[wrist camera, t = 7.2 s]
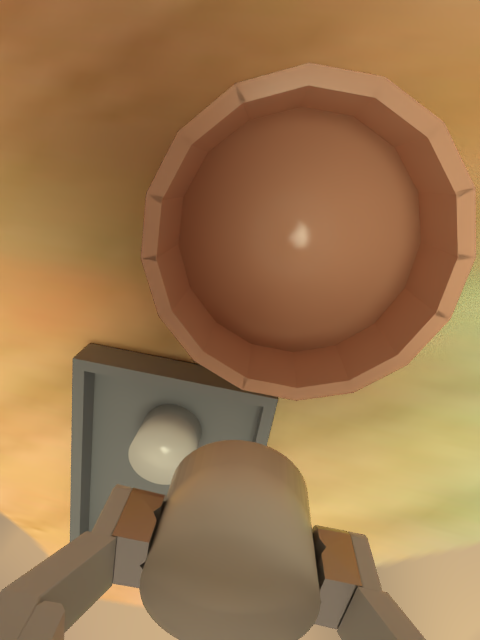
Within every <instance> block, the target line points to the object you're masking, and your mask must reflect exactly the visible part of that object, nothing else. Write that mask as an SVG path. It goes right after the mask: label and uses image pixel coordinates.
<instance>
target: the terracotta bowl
mask: <svg viewBox="0 0 480 640" xmlns="http://www.w3.org/2000/svg"><path fill="white" fill-rule="evenodd" d="M475 258H476V200H475V186H474V184H473V181H472V179H471V177H470V175H469V173H468V171H467V169H466V167H465V165H464V163H463V161H462V158H461V156H460V154H459V152H458V150H457V148H456V146H455V144H454V142H453V140H452V137H451V135H450V133H449V131H448V129H447V127H446V125H445V123H444V122H443V121H442V120H441V119H439V118H438V117H437V116H435V115H434V114H433V113H432V112H430V111H429V110H428V109H426V108H425V107H424V106H422V105H421V104H420V103H419V102H417V101H416V100H415V99H413V98H412V97H411V96H410V95H408V94H407V93H406V92H404V91H403V90H402V89H400V88H399V87H398V86H397V85H395V84H394V83H393V82H391V81H390V80H389V79H387V78H386V77H384V76H379V75H373V74H368V73H363V72H357V71H352V70H346V69H341V68H336V67H330V66H325V65H320V64H314V63H306V64H303V65H299V66H296V67H292V68H288V69H285V70H281V71H278V72H274V73H270V74H267V75H263V76H260V77H256V78H252V79H249V80H245V81H241V82H238V83H235V84H234V85H233V86H231V87H230V88H229V89H228V90H227V91H225V92H224V93H223V94H222V95H221V96H219V97H218V98H217V99H216V100H215V101H213V102H212V103H211V104H210V105H209V106H207V107H206V108H205V109H204V110H203V111H201V112H200V113H199V114H198V115H197V116H195V117H194V118H193V119H192V120H191V121H189V122H188V123H187V124H186V125H185V126H183V127H182V128H181V129H180V130H179V131H178V132H177V134H176V136H175V138H174V140H173V142H172V144H171V146H170V148H169V150H168V152H167V154H166V155H165V157H164V159H163V161H162V163H161V165H160V167H159V169H158V171H157V173H156V175H155V177H154V179H153V181H152V183H151V185H150V187H149V189H148V191H147V193H146V200H145V212H144V225H143V237H142V249H141V261H142V264H143V267H144V271H145V274H146V277H147V280H148V284H149V287H150V290H151V293H152V297H153V300H154V303H155V306H156V310H157V313H158V316H159V317H160V319H161V320H162V321H163V322H164V324H165V325H166V326H167V327H168V329H169V330H170V331H171V332H172V334H173V335H174V336H175V338H176V339H177V340H178V341H179V343H180V344H181V345H182V346H183V348H184V349H185V350H186V351H187V353H188V354H189V355H190V356H191V358H192V359H193V360H194V361H195V362H197V363H198V364H200V365H202V366H203V367H205V368H207V369H208V370H210V371H212V372H213V373H215V374H217V375H218V376H220V377H222V378H223V379H225V380H226V381H228V382H230V383H231V384H233V385H235V386H236V387H238V388H240V389H241V390H246V391H251V392H256V393H261V394H266V395H271V396H276V397H281V398H286V399H291V400H296V401H297V400H304V399H311V398H319V397H326V396H333V395H340V394H347V393H354V392H356V391H358V390H360V389H361V388H363V387H365V386H367V385H369V384H371V383H373V382H375V381H377V380H379V379H381V378H383V377H385V376H387V375H389V374H391V373H393V372H395V371H397V370H399V369H400V368H402V367H404V366H406V365H408V364H409V363H410V362H411V360H412V359H413V358H414V357H415V356H416V355H417V354H418V353H419V352H420V351H421V350H422V349H423V348H424V347H425V346H426V344H427V343H428V342H429V341H430V340H431V339H432V338H433V337H434V336H435V335H436V334H437V333H438V332H439V331H440V330H441V328H442V327H443V326H444V325H445V324H446V323H447V322H448V321H449V320H450V319H451V317H452V314H453V312H454V309H455V307H456V304H457V302H458V300H459V297H460V295H461V292H462V290H463V287H464V285H465V283H466V280H467V278H468V275H469V273H470V270H471V268H472V265H473V263H474V261H475Z"/></svg>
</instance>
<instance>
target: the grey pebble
mask: <svg viewBox="0 0 480 640" xmlns="http://www.w3.org/2000/svg"><path fill="white" fill-rule="evenodd" d="M201 434H202V430H201V425H200V423H199V421H198V419H197V418H196V416H195V415H194V414H193V413H191V412H190V411H189V410H187V409H185V408H183V407H181V406H178V405H172V404H166V405H160V406H158V407H155V408H154V409H152V410H151V411H150V412H149V413H148V414H147V416H146V417H145V419H144V421H143V423H142V425H141V427H140V428H139V430H138V432H137V434H136V436H135V438H134V439H133V441H132V443H131V445H130V447H129V452H128V457H129V461H130V464H131V466H132V467H133V469H134V470H135V471H136V473H137V474H138V475H140V476H141V477H142V478H144V479H146V480H148V481H150V482H152V483H156V484H161V485H170V483H171V480H172V477H173V475H174V472H175V470H176V468H177V467H178V465H179V464H180V462H181V461H182V460H183V459H184V458H185V457H186V456H187V455H189V454H190V453H191V452H193V451H194V450H196V449H198V446H199V442H200V439H201Z"/></svg>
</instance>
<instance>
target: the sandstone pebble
mask: <svg viewBox="0 0 480 640" xmlns="http://www.w3.org/2000/svg"><path fill="white" fill-rule="evenodd" d="M139 589H140V595H141V599H142V602H143V605H144V606H145V608H146V610H147V612H148V613H149V615H150V616H151V617H152V619H153V620H154V621H155V622H156V623H157V624H158V625H159V626H160V627H161V628H162V629H164V630H165V631H166V632H168V633H169V634H171V635H172V636H174V637H175V638H177V639H179V640H298V639H299V638H301V637H302V636H303V635H305V634H306V633H307V632H308V631H309V630H310V628H311V627H312V626H313V624H314V623H315V621H316V619H317V617H318V614H319V611H320V604H321V599H320V590H319V582H318V574H317V565H316V557H315V549H314V541H313V533H312V525H311V517H310V509H309V500H308V492H307V487H306V483H305V481H304V478H303V476H302V474H301V473H300V471H299V470H298V468H297V467H296V466H295V465H294V464H293V463H292V462H291V461H290V460H289V459H288V458H287V457H285V456H284V455H282V454H281V453H280V452H278V451H276V450H274V449H272V448H270V447H268V446H265V445H262V444H259V443H255V442H251V441H244V440H224V441H218V442H213V443H210V444H207V445H204V446H202V447H200V448H198V449H196V450H194V451H193V452H191V453H190V454H189V455H187V456H186V457H185V458H184V459H183V460H182V461H181V462H180V464H179V465H178V467H177V468H176V470H175V472H174V475H173V477H172V480H171V483H170V487H169V490H168V493H167V496H166V499H165V503H164V506H163V509H162V513H161V516H160V519H159V522H158V524H157V527H156V530H155V535H154V538H153V541H152V544H151V547H150V550H149V553H148V556H147V559H146V561H145V564H144V567H143V571H142V574H141V578H140V588H139Z"/></svg>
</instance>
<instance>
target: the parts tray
mask: <svg viewBox="0 0 480 640" xmlns="http://www.w3.org/2000/svg"><path fill="white" fill-rule="evenodd" d="M277 402H278V397H276V396H271V395H266V394H261V393H256V392H251V391H246V390H241V389H240V388H238V387H236V386H235V385H233V384H231V383H230V382H228V381H226V380H225V379H223V378H222V377H220V376H218V375H217V374H215V373H213V372H212V371H210V370H208V369H207V368H205V367H203V366H202V365H198V364H193V363H188V362H183V361H177V360H172V359H167V358H162V357H157V356H152V355H147V354H142V353H137V352H132V351H127V350H122V349H117V348H112V347H107V346H102V345H97V344H92V343H90V344H88V345H87V346H86V347H85V348H84V349H83V350H82V351H80V352H79V353H78V354H77V355H76V356H75V357H74V358H73V379H72V443H71V508H70V542H71V541H73V540H74V539H76V538H77V537H79V536H80V535H81V534H83V533H84V532H86V531H89V532H92V530H93V528H94V526H95V524H96V522H97V520H98V518H99V516H100V514H101V512H102V510H103V508H104V506H105V504H106V502H107V500H108V498H109V496H110V494H111V492H112V490H113V488H114V487H115V486H116V485H117V484H119V485H123V486H128V487H132V488H137V489H142V490H146V491H150V492H155V493H159V494H163V495H166V496H167V493H168V490H169V487H170V485H161V484H156V483H152V482H150V481H148V480H146V479H144V478H142V477H141V476H140V475H138V474H137V473H136V471H135V470H134V469H133V467H132V466H131V464H130V461H129V457H128V452H129V447H130V445H131V443H132V441H133V439H134V438H135V436H136V434H137V432H138V430H139V428H140V427H141V425H142V423H143V421H144V419H145V417H146V416H147V414H148V413H149V412H150V411H151V410H152V409H154V408H155V407H158V406H160V405H166V404H172V405H178V406H181V407H183V408H185V409H187V410H189V411H190V412H191V413H193V414H194V415H195V416H196V418H197V419H198V421H199V423H200V425H201V430H202V434H201V439H200V442H199V446H198V448H200V447H202V446H204V445H207V444H210V443H213V442H218V441H224V440H244V441H251V442H255V443H259V444H262V445H265V446H267V442H268V438H269V434H270V430H271V426H272V422H273V418H274V414H275V410H276V406H277ZM165 499H166V498H165Z"/></svg>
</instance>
